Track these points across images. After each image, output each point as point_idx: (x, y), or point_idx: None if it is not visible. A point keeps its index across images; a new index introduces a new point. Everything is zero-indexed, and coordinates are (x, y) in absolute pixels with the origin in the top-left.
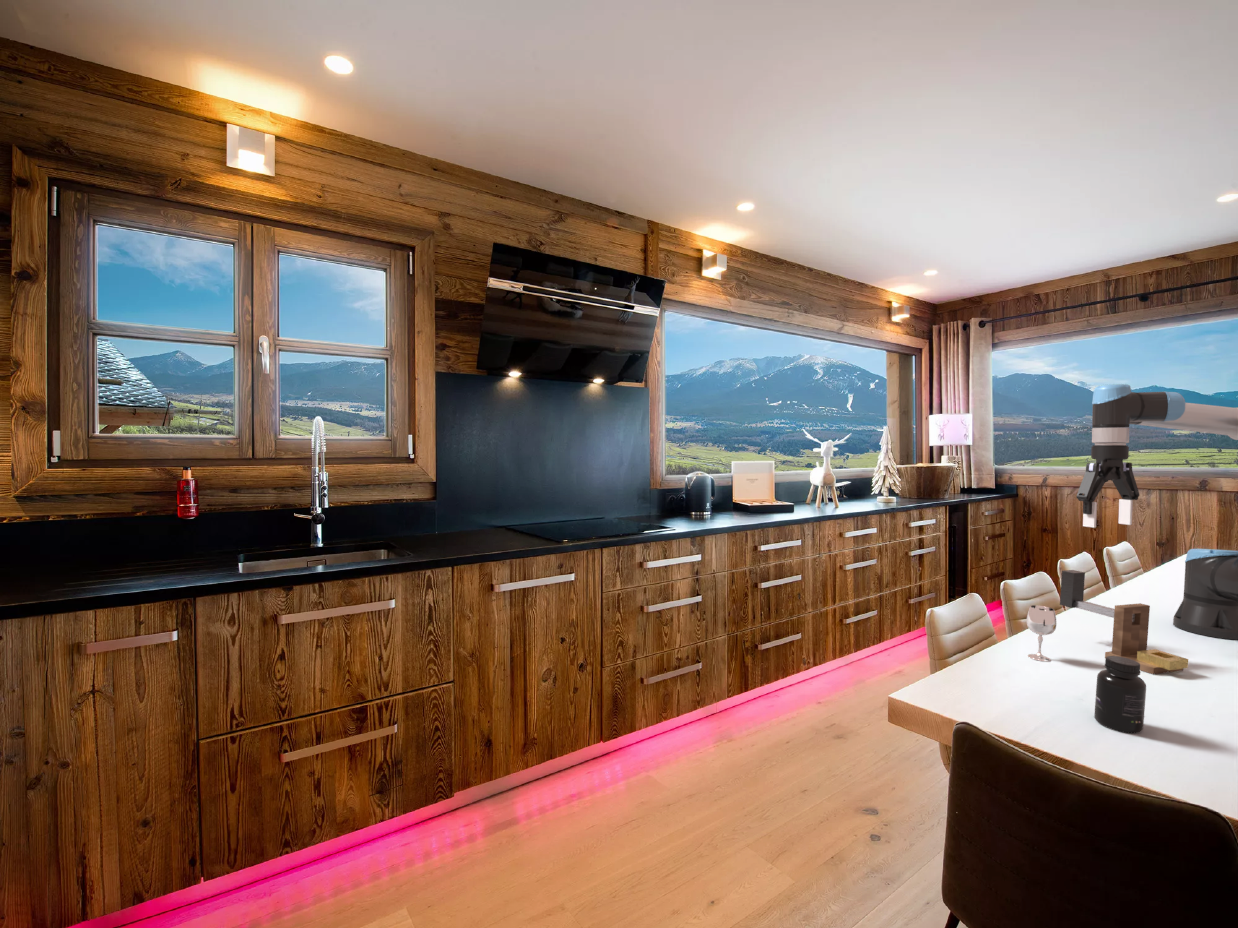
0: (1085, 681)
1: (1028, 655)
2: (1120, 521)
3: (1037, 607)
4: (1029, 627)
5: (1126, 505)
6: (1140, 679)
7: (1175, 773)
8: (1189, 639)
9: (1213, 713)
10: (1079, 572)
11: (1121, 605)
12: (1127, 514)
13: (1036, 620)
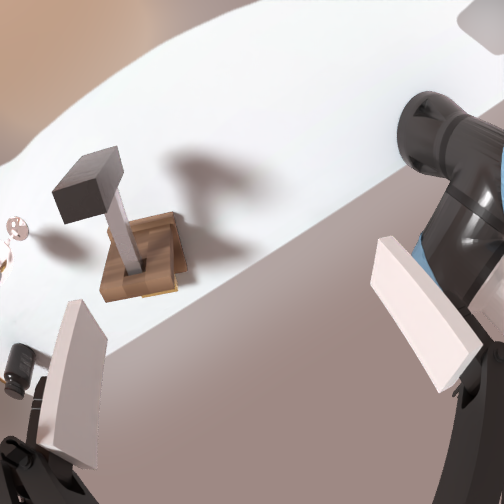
0: (35, 292)
1: (7, 222)
2: (383, 254)
3: None
4: None
5: (430, 351)
6: (25, 389)
7: (30, 383)
8: (357, 153)
9: (109, 345)
10: (89, 213)
11: (113, 290)
12: (400, 313)
13: None
